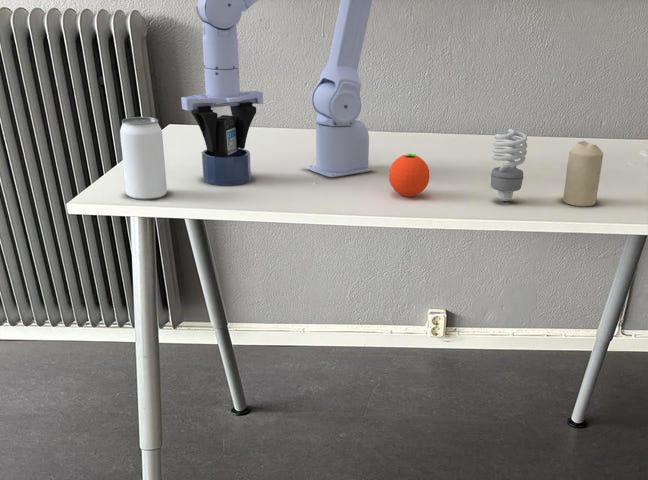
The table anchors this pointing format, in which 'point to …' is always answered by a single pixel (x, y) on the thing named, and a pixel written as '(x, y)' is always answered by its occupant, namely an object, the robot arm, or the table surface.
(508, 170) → the light bulb
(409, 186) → the clementine
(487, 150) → the table surface
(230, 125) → the ink cartridge
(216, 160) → the cup
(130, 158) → the can
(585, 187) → the candle
